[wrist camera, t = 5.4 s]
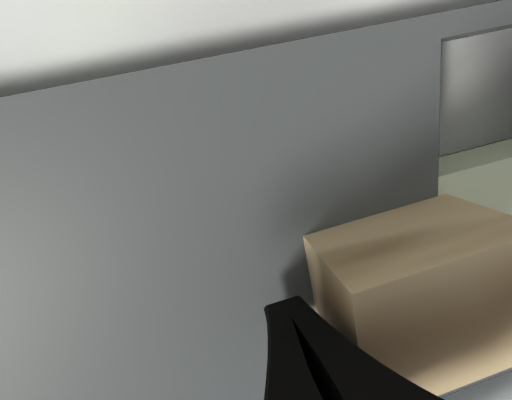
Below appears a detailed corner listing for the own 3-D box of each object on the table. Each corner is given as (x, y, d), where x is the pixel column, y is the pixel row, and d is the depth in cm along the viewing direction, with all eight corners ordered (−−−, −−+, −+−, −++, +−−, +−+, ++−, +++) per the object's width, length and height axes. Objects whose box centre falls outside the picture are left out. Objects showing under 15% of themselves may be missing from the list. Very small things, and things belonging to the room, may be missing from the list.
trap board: (527, 324, 18) (602, 373, 14) (107, 475, 15) (81, 580, 11) (581, -7, 12) (730, -53, 8) (-112, 130, 9) (-302, 141, 5)
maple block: (444, 295, 13) (529, 360, 9) (320, 338, 12) (366, 423, 9) (446, 193, 11) (551, 229, 8) (302, 235, 10) (351, 294, 7)
